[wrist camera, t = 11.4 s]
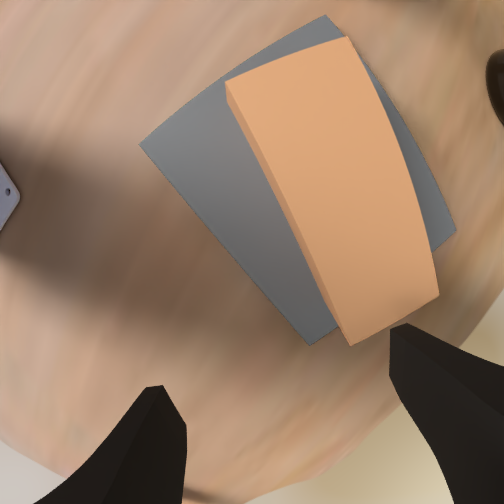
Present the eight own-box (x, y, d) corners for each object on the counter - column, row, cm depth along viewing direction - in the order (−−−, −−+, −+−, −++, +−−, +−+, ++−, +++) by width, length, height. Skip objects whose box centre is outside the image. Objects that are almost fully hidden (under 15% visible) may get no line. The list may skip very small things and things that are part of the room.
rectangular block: (398, 262, 17) (439, 295, 13) (324, 302, 17) (350, 346, 13) (316, 64, 13) (347, 35, 9) (226, 101, 14) (224, 81, 9)
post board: (143, 144, 15) (121, 143, 12) (320, 20, 13) (340, -5, 10) (306, 337, 19) (319, 371, 16) (447, 226, 18) (480, 241, 14)
